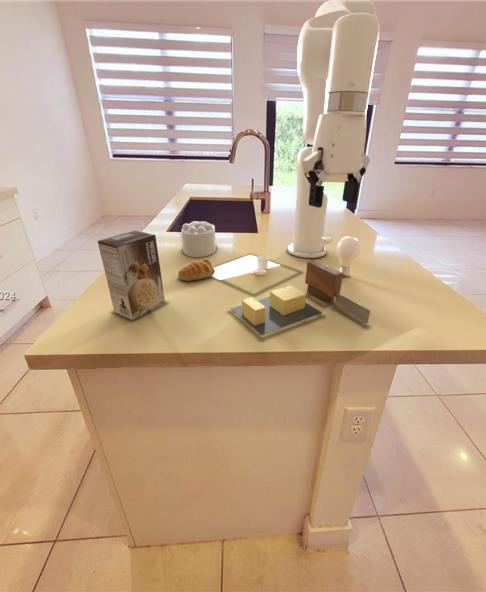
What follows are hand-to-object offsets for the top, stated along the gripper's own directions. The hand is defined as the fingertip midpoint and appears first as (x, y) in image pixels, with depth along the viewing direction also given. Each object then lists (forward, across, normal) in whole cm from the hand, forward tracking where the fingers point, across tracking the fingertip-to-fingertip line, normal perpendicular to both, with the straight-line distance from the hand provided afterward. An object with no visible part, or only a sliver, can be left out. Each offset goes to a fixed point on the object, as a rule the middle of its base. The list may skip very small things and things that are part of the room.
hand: (332, 203), depth 64 cm
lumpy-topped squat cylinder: (+22, +10, -46) cm, 52 cm away
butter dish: (+22, +13, 0) cm, 26 cm away
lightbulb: (+22, -16, -7) cm, 28 cm away
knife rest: (+22, 0, 0) cm, 22 cm away
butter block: (+21, +10, 0) cm, 24 cm away
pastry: (+22, +19, -27) cm, 40 cm away
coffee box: (+22, +37, -18) cm, 47 cm away
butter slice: (+21, +19, 0) cm, 29 cm away
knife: (+22, 0, +5) cm, 23 cm away
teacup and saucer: (+22, +5, -22) cm, 32 cm away
